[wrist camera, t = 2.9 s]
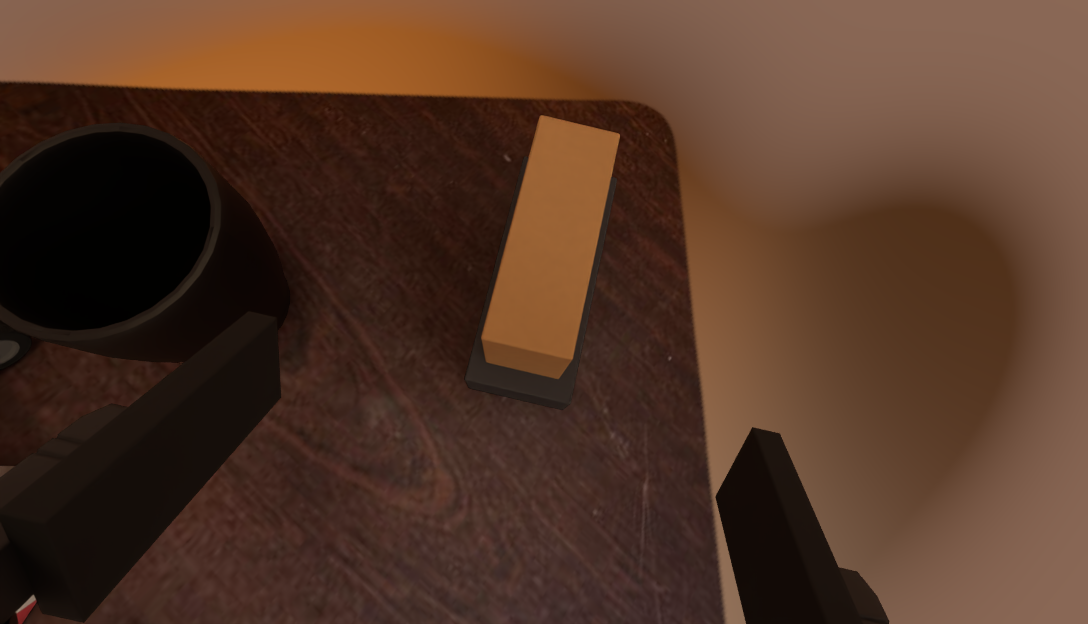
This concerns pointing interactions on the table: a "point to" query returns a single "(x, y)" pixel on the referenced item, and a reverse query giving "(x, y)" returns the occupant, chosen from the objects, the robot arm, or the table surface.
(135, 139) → the mug
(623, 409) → the table surface
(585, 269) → the eraser
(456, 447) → the table surface
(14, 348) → the toy car
